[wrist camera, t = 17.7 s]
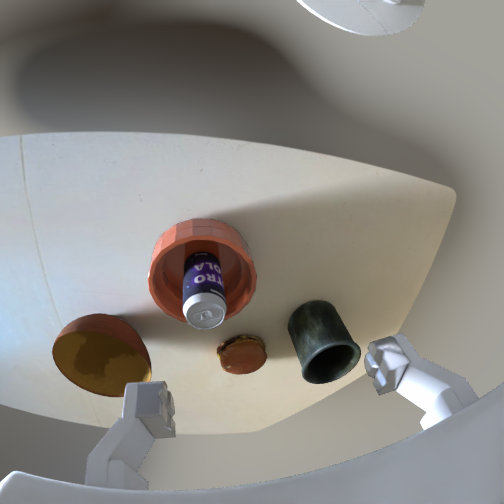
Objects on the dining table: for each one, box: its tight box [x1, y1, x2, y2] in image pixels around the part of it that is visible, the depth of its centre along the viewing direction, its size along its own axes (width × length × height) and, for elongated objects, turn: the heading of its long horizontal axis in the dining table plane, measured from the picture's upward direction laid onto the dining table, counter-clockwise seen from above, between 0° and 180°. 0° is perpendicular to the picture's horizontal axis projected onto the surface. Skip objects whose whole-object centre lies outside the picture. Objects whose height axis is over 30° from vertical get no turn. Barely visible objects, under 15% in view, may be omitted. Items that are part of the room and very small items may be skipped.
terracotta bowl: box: [148, 219, 257, 323], centre depth 45 cm, size 15×15×6 cm
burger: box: [217, 335, 267, 374], centre depth 57 cm, size 10×9×5 cm
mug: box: [288, 301, 361, 384], centre depth 54 cm, size 11×15×12 cm
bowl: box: [52, 314, 152, 397], centre depth 47 cm, size 18×18×10 cm
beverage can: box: [183, 251, 227, 330], centre depth 42 cm, size 6×6×12 cm
